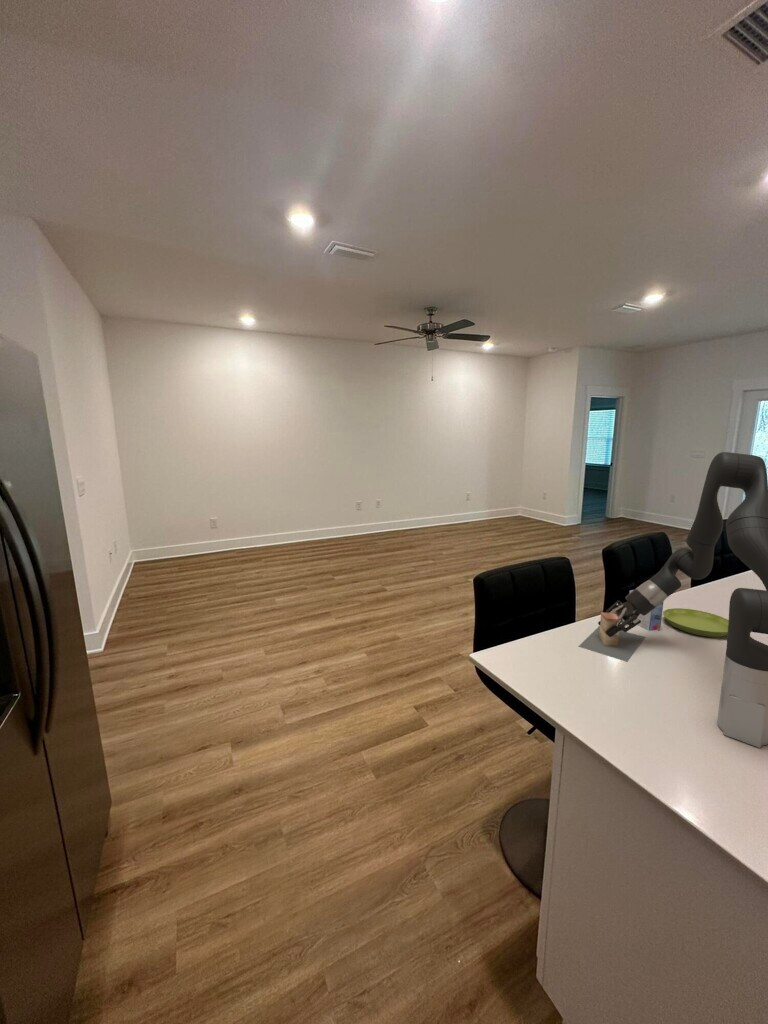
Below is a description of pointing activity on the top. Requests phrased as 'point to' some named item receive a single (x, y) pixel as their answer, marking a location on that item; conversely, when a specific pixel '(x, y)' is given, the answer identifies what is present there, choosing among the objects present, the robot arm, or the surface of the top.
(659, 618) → the ink cartridge box
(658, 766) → the top surface
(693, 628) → the saucer
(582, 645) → the rubber mat
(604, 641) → the beech block
